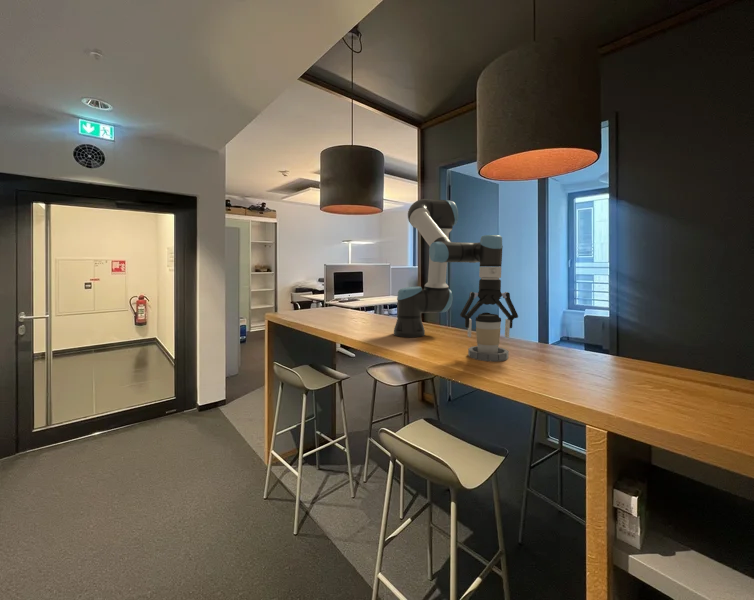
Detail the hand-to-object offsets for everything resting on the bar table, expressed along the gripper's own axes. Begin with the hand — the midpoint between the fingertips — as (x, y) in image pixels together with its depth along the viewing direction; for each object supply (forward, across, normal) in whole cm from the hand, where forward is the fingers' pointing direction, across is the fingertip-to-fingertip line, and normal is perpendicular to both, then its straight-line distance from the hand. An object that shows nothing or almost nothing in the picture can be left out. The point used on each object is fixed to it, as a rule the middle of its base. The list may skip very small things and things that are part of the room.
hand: (488, 336), depth 128 cm
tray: (+7, 0, 0) cm, 7 cm away
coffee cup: (+7, 0, 0) cm, 7 cm away
